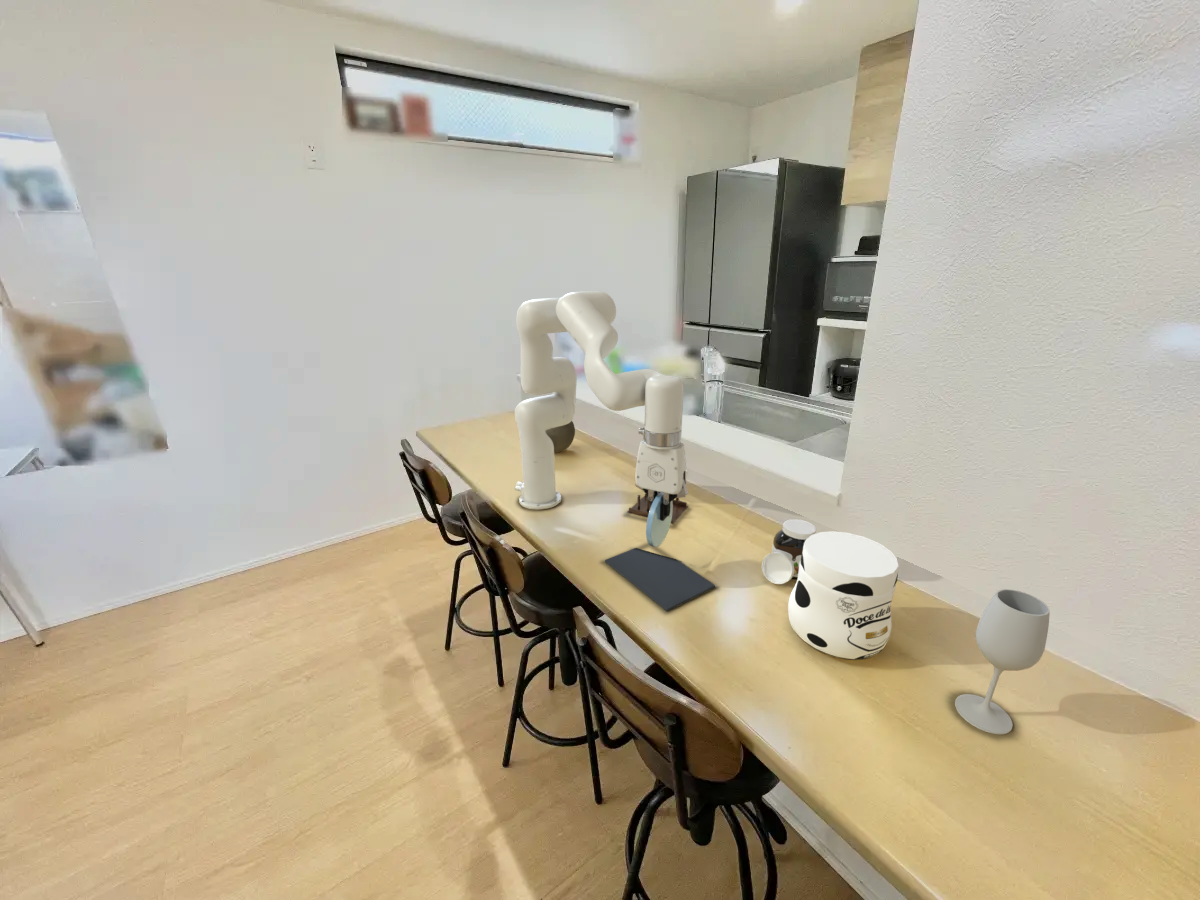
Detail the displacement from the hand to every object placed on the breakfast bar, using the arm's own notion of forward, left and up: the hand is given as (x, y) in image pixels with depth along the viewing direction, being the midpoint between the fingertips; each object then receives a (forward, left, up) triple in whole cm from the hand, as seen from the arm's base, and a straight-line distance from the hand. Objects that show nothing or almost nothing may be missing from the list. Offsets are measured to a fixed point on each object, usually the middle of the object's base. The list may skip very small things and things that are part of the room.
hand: (660, 516), depth 107 cm
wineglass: (+59, -10, -15) cm, 62 cm away
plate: (0, 0, -7) cm, 7 cm away
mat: (0, 0, -15) cm, 15 cm away
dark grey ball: (-65, +55, -15) cm, 87 cm away
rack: (-12, +28, -15) cm, 34 cm away
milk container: (+37, -2, -15) cm, 40 cm away
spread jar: (+26, +14, -15) cm, 33 cm away
